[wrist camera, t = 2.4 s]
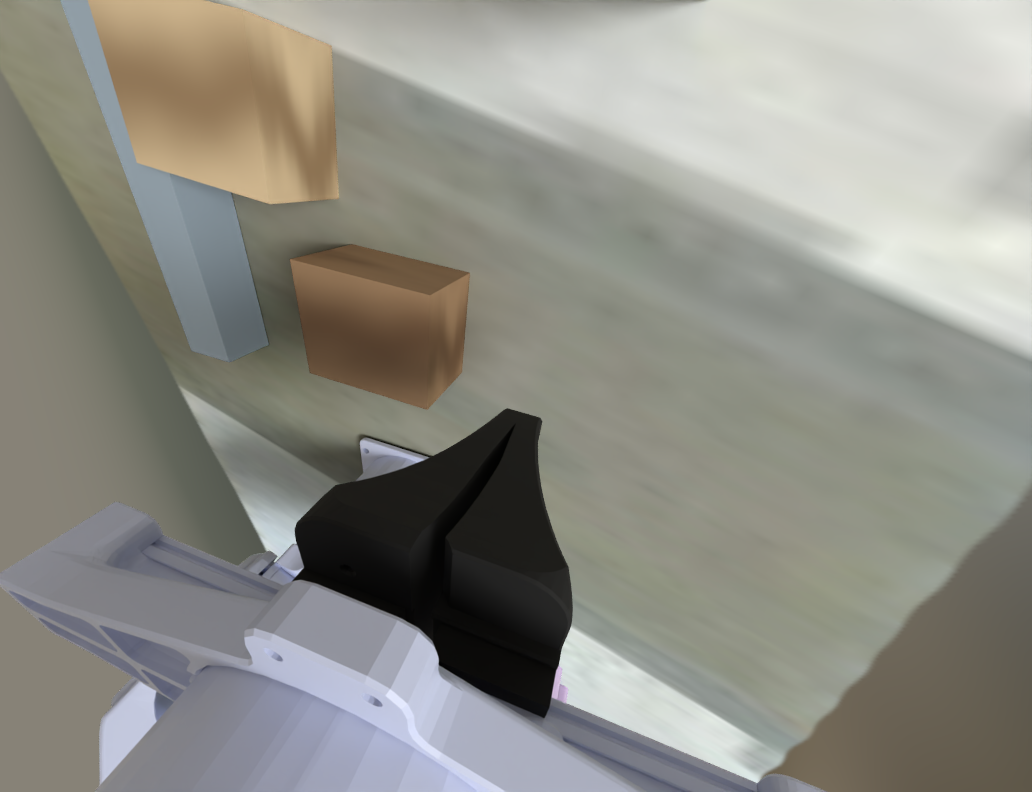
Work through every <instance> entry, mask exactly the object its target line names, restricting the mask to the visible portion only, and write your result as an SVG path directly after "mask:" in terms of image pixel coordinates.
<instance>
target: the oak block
mask: <svg viewBox="0 0 1032 792" xmlns="http://www.w3.org/2000/svg"><path fill="white" fill-rule="evenodd" d="M88 3H89V6H90V9H91V13H92V16H93V19H94V23H95V26H96V29H97V32H98V36H99V39H100V42H101V46H102V49H103V52H104V56H105V59H106V62H107V65H108V69H109V72H110V75H111V79H112V82H113V85H114V89H115V92H116V95H117V98H118V102H119V105H120V108H121V112H122V115H123V118H124V122H125V125H126V128H127V131H128V135H129V138H130V141H131V145H132V148H133V151H134V155H135V158H136V161H137V163H139V164H142V165H145V166H149V167H152V168H155V169H158V170H162V171H165V172H168V173H171V174H174V175H178V176H181V177H184V178H187V179H191V180H194V181H197V182H200V183H203V184H207V185H210V186H213V187H216V188H219V189H223V190H226V191H229V192H232V193H236V194H239V195H242V196H245V197H248V198H252V199H255V200H258V201H261V202H264V203H268V204H278V203H291V202H303V201H316V200H328V199H339V192H338V171H337V150H336V129H335V108H334V87H333V66H332V46H331V45H328V44H326V43H323V42H321V41H318V40H316V39H314V38H311V37H309V36H306V35H304V34H301V33H299V32H296V31H294V30H292V29H289V28H287V27H284V26H282V25H279V24H277V23H274V22H272V21H270V20H267V19H265V18H262V17H260V16H257V15H255V14H252V13H250V12H248V11H245V10H243V9H239V8H234V7H230V6H226V5H222V4H217V3H213V2H209V1H205V0H88Z"/></svg>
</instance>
